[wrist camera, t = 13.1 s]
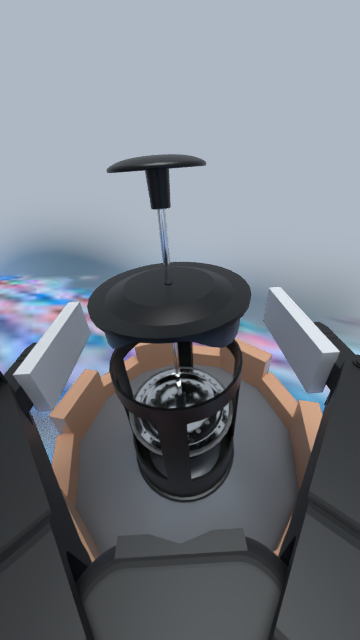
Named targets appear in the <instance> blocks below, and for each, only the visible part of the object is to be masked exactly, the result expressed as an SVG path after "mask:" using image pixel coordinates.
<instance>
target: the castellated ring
mask: <svg viewBox="0 0 360 640" xmlns="http://www.w3.org/2000/svg"><path fill="white" fill-rule="evenodd" d="M234 339H235V340H236V341H237V343H238V344H239V346H240V349H241V352H242V358H243V365H242V373H241V381H240V389H239V398H238V406H237V414H236V422H235V430H234V438H233V442H234V458H233V464H232V467H231V470H230V472H229V475H228V477H227V478H226V480H225V481H224V483H223V484H222V485H221V486H220V487H219V488H218V489H217V490H216V491H215V492H214V493H213V494H211V495H209V496H208V497H206V498H204V499H201V500H198V501H195V502H184V503H181V502H176V501H171V500H168V499H166V498H164V497H161V496H160V495H158V494H157V493H156V492H154V491H153V490H152V489H151V488H150V487H149V486H148V484H147V483H146V482H145V480H144V479H143V477H142V475H141V473H140V470H139V467H138V463H137V457H136V450H135V446H134V442H133V432H132V429H131V426H130V423H129V420H128V417H127V414H126V411H125V408H124V406H123V405H122V403H121V401H120V400H119V398H118V396H117V395H116V392H115V389H114V386H113V383H112V380H111V376H110V372H108V373H106V374H105V375H103V376H102V377H100V375H99V373H98V371H95V370H88V369H85V370H84V371H83V373H82V374H81V375H80V376H79V378H78V379H77V380H76V382H75V383H74V384H73V385H72V387H71V388H70V389H69V391H68V392H67V393H66V394H65V396H64V397H63V398H62V400H61V401H60V402H59V403H58V405H57V406H56V407H55V409H54V410H53V411H52V412H51V414H50V415H49V417H50V419H51V421H52V422H53V424H54V425H55V427H56V428H57V430H58V431H59V433H60V435H57V437H56V443H55V449H54V455H53V461H52V468H53V471H54V473H55V476H56V478H57V481H58V484H59V486H60V489H61V491H62V494H63V496H64V499H65V502H66V504H67V507H68V509H69V512H70V514H71V517H72V520H73V522H74V525H75V527H76V530H77V532H78V535H79V537H80V540H81V542H82V544H83V545H84V547H85V549H86V550H87V552H88V554H89V556H90V558H91V561H92V562H93V561H94V560H95V559H96V558H97V557H98V556H100V555H101V554H102V553H103V552H105V551H106V550H108V549H110V548H111V547H113V546H115V545H116V544H117V537H118V536H125V535H141V534H150V535H153V536H156V537H160V538H163V539H166V540H170V541H173V542H176V543H183V542H186V541H188V540H190V539H193V538H195V537H197V536H200V535H202V534H204V533H206V532H209V531H211V530H219V529H234V528H243V530H244V535H245V536H246V537H249V538H252V539H254V540H256V541H258V542H260V543H261V544H263V545H265V546H266V547H268V548H269V549H270V550H271V551H273V552H274V553H275V554H276V555H277V556H278V555H279V551H280V548H281V545H282V542H283V540H284V537H285V535H286V532H287V530H288V527H289V524H290V521H291V517H292V514H293V511H294V507H295V504H296V501H297V498H298V494H299V491H300V488H301V484H302V481H303V478H304V475H305V471H306V468H307V465H308V461H309V458H310V455H311V451H312V448H313V445H314V442H315V438H316V435H317V432H318V428H319V425H320V422H321V419H322V412H321V409H320V406H319V403H316V402H309V401H302V400H299V401H298V402H297V401H296V400H295V399H294V398H293V396H292V395H291V394H290V393H289V392H288V391H287V389H286V388H285V387H284V386H283V385H282V384H281V383H280V381H279V380H278V379H277V378H276V377H275V376H274V375H273V373H272V372H271V373H268V371H269V367H270V362H271V358H272V354H270V353H268V352H266V351H263V350H261V349H259V348H257V347H254V346H252V345H250V344H248V343H245V342H243V341H241V340H239V339H237V338H234ZM135 351H136V355H137V357H135V356H132V357H131V358H129V359H128V360H126V361H125V362H124V364H125V367H126V371H127V375H128V378H129V382H130V385H131V389H132V393H133V396H134V394H135V393H136V391H137V390H138V388H139V387H140V386H141V385H142V384H143V383H144V381H146V380H147V379H148V378H150V377H151V376H152V375H154V374H156V373H158V372H160V371H163V370H165V369H169V368H174V358H173V349H172V343H164V344H151V343H139V344H137V345H136V346H135ZM234 362H235V358H234V356H233V355H232V353H231V351H230V350H229V349H228V348H227V347H226V346H225V347H224V348H215V347H205V346H196V345H193V367H194V368H197V369H201V370H204V371H206V372H208V373H210V374H212V375H213V376H215V377H216V378H217V379H218V380H220V381H221V382H222V383H223V385H224V386H225V387H226V388H227V386H228V385H229V384H230V383H231V382H232V381H233V373H234ZM219 453H220V442H219V443H217V444H216V445H215V446H214V447H213V448H211V449H210V450H209V451H207V452H205V453H204V454H202V455H200V456H197V457H194V458H191V459H190V467H191V479H192V478H196V477H199V476H202V475H204V474H206V473H207V472H209V471H210V470H211V469H212V468H213V466H214V465H215V464H216V461H217V459H218V457H219ZM150 456H151V459H152V462H153V463H154V465H155V467H156V468H157V469H158V470H159V471H160V473H162V474H163V475H164V476H166V477H167V473H166V468H165V464H164V459H163V457H162V456H160V455H158V454H156V453H154V452H153V451H151V450H150Z"/></svg>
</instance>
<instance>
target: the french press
mask: <svg viewBox="0 0 360 640" xmlns="http://www.w3.org/2000/svg"><path fill="white" fill-rule="evenodd" d="M204 165H206V162H205V161H204V160H202V159H200V158H197V157H193V156H188V155H175V154H173V155H171V154H170V155H169V154H168V155H151V156H143V157H136V158H131V159H127V160H123V161H120V162H117V163H115V164H114V165H112V166H110V167H109V168H108V169H107V173H117V172H130V171H143V170H145V173H146V179H147V185H148V191H149V197H150V203H151V208H152V209H157V212H158V221H159V230H160V239H161V248H162V257H163V263H161V264H153V265H148V266H143V267H139V268H136V269H132V270H129V271H126V272H124V273H121V274H118V275H116V276H114V277H112V278H111V279H109V280H107V281H106V282H104V283H103V284H101V285H100V286H99V287H98V288H97V289H96V290H95V291H94V292H93V293H92V295H91V296H90V298H89V301H88V305H87V308H88V312H89V316H90V318H91V320H92V321H93V323H94V324H95V325H96V327H98V328H99V329H100V330H102V331H103V332H105V335H106V338H107V341H108V344H109V345H110V346H111V347H112V348H113V349H115V348H116V349H115V350H114V352H113V354H112V357H111V360H110V369H109V372H110V376H111V380H112V383H113V386H114V389H115V392H116V395H117V396H118V398H119V400H120V401H121V403H122V405H123V406H124V408H125V411H126V414H127V417H128V420H129V423H130V426H131V429H132V432H133V442H134V446H135V450H136V457H137V463H138V467H139V470H140V473H141V475H142V477H143V479H144V480H145V482H146V483H147V484H148V486H149V487H150V488H151V489H152V490H153V491H154V492H156V493H157V494H158V495H160V496H161V497H164V498H166V499H168V500H171V501H176V502H181V503H184V502H195V501H198V500H201V499H204V498H206V497H208V496H209V495H211V494H213V493H214V492H215V491H216V490H217V489H218V488H219V487H220V486H221V485H222V484H223V483H224V481H225V480H226V478H227V477H228V475H229V472H230V470H231V467H232V464H233V458H234V442H233V438H234V430H235V422H236V414H237V406H238V398H239V389H240V381H241V373H242V365H243V358H242V352H241V349H240V346H239V344H238V343H237V341H236V340H235V339H234V338H235V337H236V335H237V332H238V329H239V322H240V318H241V317H242V316H243V315H244V313H245V312H246V310H247V309H248V307H249V304H250V299H251V291H250V287H249V285H248V284H247V282H246V281H245V280H244V279H243V278H242V277H241V276H239V275H238V274H236V273H234V272H232V271H231V270H228V269H225V268H222V267H219V266H215V265H210V264H204V263H195V262H170V258H169V248H168V237H167V226H166V215H165V209H166V208H170V185H169V168H182V167H194V166H204ZM192 342H196V343H200V344H203V345H207V346H211V347H220V348H224V347H225V346H226V347H227V348H228V349H229V350H230V351H231V353H232V355H233V356H234V358H235V362H234V373H233V381H232V382H231V383H230V384H229V385H228V386H227V388H226V387H225V386H224V385H223V383H222V382H221V381H220V380H218V379H217V378H216V377H215V376H213V375H212V374H210V373H208V372H206V371H204V370H201V369H197V368H194V367H193V345H192ZM139 343H151V344H164V343H172V349H173V358H174V368H169V369H165V370H163V371H160V372H158V373H156V374H154V375H152V376H151V377H150V378H148V379H147V380H146V381H144V383H143V384H142V385H141V386H140V387H139V388H138V390H137V391H136V393H135V394H134V396H133V393H132V389H131V385H130V382H129V378H128V375H127V371H126V367H125V364H124V360H123V358H124V357H125V356H126V355H127V353H128V352H129V351H130V350H131V349H132V348H134V347H135V346H136V345H137V344H139ZM219 442H220V453H219V457H218V459H217V461H216V464H215V465H214V466H213V468H212V469H211V470H210V471H209V472H207V473H206V474H204V475H202V476H199V477H196V478H192V479H191V467H190V459H191V458H194V457H197V456H200V455H202V454H204V453H205V452H207V451H209V450H210V449H211V448H213V447H214V446H215V445H216V444H217V443H219ZM150 450H151V451H153V452H154V453H156V454H158V455H160V456H162V457H163V459H164V464H165V468H166V473H167V477H166V476H164V475H163V474H162V473H160V471H159V470H158V469H157V468H156V467H155V465H154V463H153V462H152V459H151V456H150Z"/></svg>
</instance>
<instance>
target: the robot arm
mask: <svg viewBox="0 0 360 640" xmlns="http://www.w3.org/2000/svg"><path fill="white" fill-rule="evenodd" d="M263 321H264V323H265V325H266V326H267V328H268V329H269V331H270V333H271V334H272V336H273V338H274V339H275V341H276V343H277V344H278V346H279V348H280V349H281V351H282V352H283V354H284V356H285V357H286V359H287V361H288V362H289V364H290V366H291V367H292V369H293V371H294V372H295V374H296V375H297V377H298V379H299V380H300V382H301V384H302V385H303V387H304V389H305V390H306V392H307V393H320V392H323V390H324V388H325V385H327V386H328V388H329V389H330V390H331V391H330V393H329V395H328V397H327V400H326V402H325V404H324V405H325V409H324V412H323V415H322V419H321V422H320V425H319V428H318V432H317V435H316V438H315V442H314V445H313V448H312V451H311V455H310V458H309V461H308V465H307V468H306V471H305V475H304V478H303V481H302V484H301V488H300V491H299V494H298V498H297V501H296V504H295V507H294V511H293V514H292V517H291V521H290V524H289V527H288V530H287V532H286V535H285V537H284V540H283V542H282V545H281V548H280V551H279V555H278V556H277V555H276V554H275V553H274V552H273V551H271V550H270V549H269V548H268V547H266V546H265V545H263V544H261V543H260V542H258V541H256V540H254V539H252V538H249V537H246V536H245V535H244V530H243V528H234V529H219V530H211V531H209V532H206V533H204V534H202V535H200V536H197V537H195V538H193V539H190V540H188V541H186V542H183V543H176V542H173V541H170V540H166V539H163V538H160V537H156V536H153V535H150V534H141V535H125V536H118V537H117V544H116V545H115V546H113V547H111V548H110V549H108V550H106V551H105V552H103V553H102V554H101V555H100V556H98V557H97V558H96V559H95V560H94V561H93V562H92V561H91V558H90V556H89V554H88V552H87V550H86V549H85V547H84V545H83V544H82V542H81V540H80V537H79V535H78V532H77V530H76V527H75V525H74V522H73V520H72V517H71V514H70V512H69V509H68V507H67V504H66V502H65V499H64V496H63V494H62V491H61V489H60V486H59V484H58V481H57V478H56V476H55V473H54V471H53V468H52V466H51V463H50V460H49V458H48V455H47V453H46V450H45V448H44V445H43V442H42V440H41V437H40V435H39V432H38V430H37V427H36V424H35V422H34V419H33V417H32V415H31V413H30V412H29V411H30V410H31V408H32V406H33V405H34V407H35V408H36V410H37V411H38V412H45V411H53V409H54V407H55V405H56V403H57V401H58V399H59V397H60V395H61V393H62V391H63V389H64V387H65V385H66V383H67V381H68V379H69V377H70V375H71V373H72V371H73V369H74V367H75V365H76V362H77V360H78V358H79V356H80V354H81V352H82V350H83V348H84V346H85V344H86V342H87V340H88V338H89V336H90V334H91V333H90V330H89V327H88V324H87V322H86V319H85V316H84V313H83V310H82V307H81V305H80V302H69V303H68V304H67V305H66V306H65V308H64V309H63V310H62V312H61V313H60V314H59V315H58V317H57V318H56V319H55V321H54V322H53V323H52V325H51V326H50V327H49V328H48V330H47V331H46V332H45V334H44V335H43V336H42V338H41V339H40V340H39V341H38V343H33V344H31V345H30V346H29V347H27V348H26V349H25V350H24V351H23V352H22V354H21V355H20V357H18V359H17V360H16V362H14V364H13V365H12V366H11V367H10V368H9V370H8V371H7V372H6V373H5V375H4V376H3V374H2V373H1V372H0V640H360V355H355V354H354V353H353V352H352V351H351V350H350V349H349V348H348V347H347V346H346V345H345V344H344V343H343V342H342V341H341V340H340V339H338V337H337V336H336V335H335V334H334V333H333V332H332V331H331V330H330V329H329V328H328V327H327V326H325V325H324V324H322V323H320V322H312V321H311V320H310V319H309V318H308V317H307V316H306V315H305V313H304V312H303V311H302V310H301V309H300V308H299V307H298V306H297V305H296V304H295V303H294V302H293V300H292V299H291V298H290V297H289V296H288V295H287V294H286V293H285V292H284V291H283V290H282V289H281V288H280V287H277V288H276V287H275V288H269V291H268V297H267V303H266V308H265V314H264V320H263Z"/></svg>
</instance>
